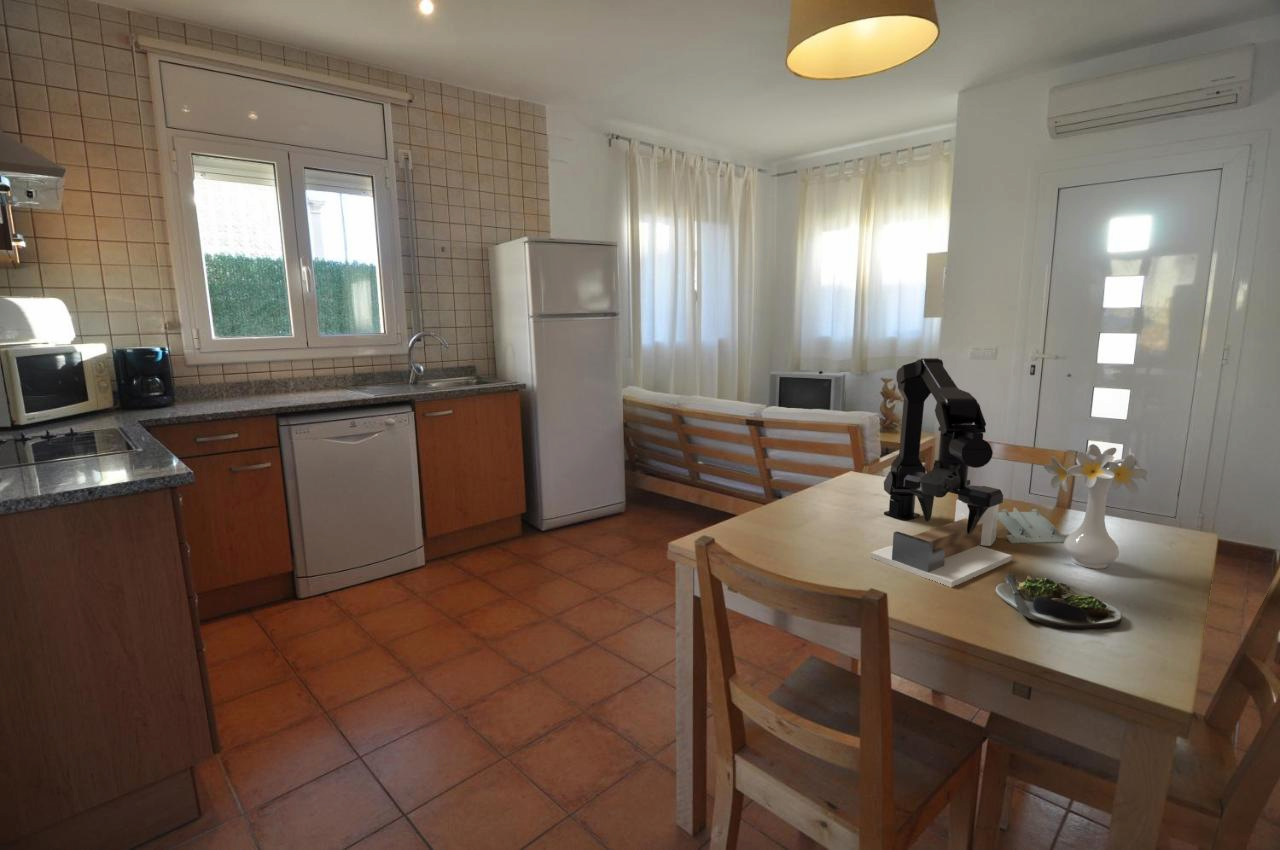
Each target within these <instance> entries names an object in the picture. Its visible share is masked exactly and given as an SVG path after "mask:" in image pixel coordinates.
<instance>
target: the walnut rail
mask: <svg viewBox="0 0 1280 850" xmlns="http://www.w3.org/2000/svg"><path fill="white" fill-rule="evenodd" d="M967 524H968V519H965V518H964V519H961V520H958V521H955V520H954V521H953V522H950V523H947V524H945V525H941V526H938V527H935V528H933V529H929V530H926V531H922V532H920V533H917V534H914V535H913V536H914V537H917V538H920V539H923V540H926V541H929V542H933V550H936V549H938V548H942V549H945V558H947V557H950V556H953V555H955V554H958V553H960V552H963V551H965V550H968V549H971V548H973V547H976V546H978V545H979V546H980V545H981V535H982V524H983V523H980V522H978V523H977V525H976V526H975V528H974V530H973V531H972V533H970V534H968V533H967Z"/></svg>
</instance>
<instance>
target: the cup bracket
mask: <svg viewBox="0 0 1280 850" xmlns="http://www.w3.org/2000/svg"><path fill="white" fill-rule="evenodd" d="M892 537H893V538H892V545H893V549H892V560H894V561H897V562H900V563H902V564H905V565H908V566H911V567H913V568H916V569H919V570H922V571H924V572H927V573H928V572H931V571H933V570H935V569H938V568H940V567H943V566H944V561H945V549H942V548H938V549H936V550H933V542H929V541H926V540H923V539H920V538H917V537H914V535H910V534H906V533H903V532H901V531H894V532H893V536H892Z"/></svg>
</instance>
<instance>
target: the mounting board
mask: <svg viewBox="0 0 1280 850" xmlns="http://www.w3.org/2000/svg"><path fill="white" fill-rule="evenodd" d="M892 549H893V544H892V545H888V546H885V547H883V548H880V549H876V550H874V551H871V552H870V557H869V558H870V559H872V558H873V559H872V560H875V559H876V561H877V562H881V563H883V564H886V565H889V566H892V567H895V568H897V569H900V570H903V571H905V572H907V573H910V574H913V575H916V576H918V577H922V578H924V579H926V578H927V580H929V579H930V581H932V580H933V581H932V582H935V581H936V582H935V583H937V582H938V584H940V583H941V584H940V585H943V584H944V585H943V586H945V585H946V587H948V586H949V588H954V587H956V586H958V585H960V584H963V583H965V582H968V581H970V580H972V579H974V578H976V577H978V576H981V575H982V574H985V573H987V572H989V571H991V570H993V569H996V568H998V567H1000V566H1004V564H1007V563H1009V562H1011V561H1012V555H1011V554H1008V553H1005V552H1002V551H999V550H995V549H991V548H988V547H986V546H980V545H978V546H976V547H973V548H971V549H968V550H965V551H963V552H960V553H958V554H955V555H953V556H950V557H947V558H945V561H944V566H943V567H940V568H938V569H935V570H933V571H931V572H928V573H927V572H924V571H922V570H919V569H916V568H913V567H911V566H908V565H905V564H902V563H900V562H897V561H894V560H892ZM973 577H974V578H973ZM955 585H956V586H955Z"/></svg>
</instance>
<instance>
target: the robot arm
mask: <svg viewBox="0 0 1280 850" xmlns="http://www.w3.org/2000/svg"><path fill="white" fill-rule="evenodd" d="M895 376H896V382H897V389H898V391H899V393H900V394H901V397H902V398H903V405H902V416H901V427H900V438H899V450H898V451H899V452H898V455H897V456H896V457H895V458H894V460H892V463H890V464H891V465H890V471H888V473H887V475H886V477H885V479H884V481H883V491H885V492H886V494H888V495H889V496H890V497H889V505H888V510H886V511H884V512H883V515H886V516H889V517H892V518H896V519H899V520H903V521H909V520H911V519H914V518H917V517H920V513H917V512H915V510H916V509H915V507H916V498H917V500H918V502H919V505H920V509H921V511H922V513H923V518H924V521H925V522H927V523H928V522H930V521H931V519H932V514H933V508H934V501H935V498H940V499H941V498H944V497H946V495H947V494H948V493H951V494H955V495H957V496H958V495H963V496H967V497H969V500H970V502H971V503H970V504H967V506H968V508H969V517H968V524H967V533H968V534H970V533H972V531H973V530H974V528H975V526H976V525H977V523H978V522H979V520H980V518H981V517H982V515H983V514H984V513H985V511H986V510H987V509H988V508H989V507H992V506H995V505H998V504H999V505H1000V504H1003V503H1004V502H1003V500H1004V494H1003V492H1002V490H1001V489H999V488H995V487H991V486H986V485H982V486H981V485H980V486H981V487H978V488H974V489H973V488H968V487H967V486H971V479H968V474H969V467H971V468H974V469H975V468H976V469H978V468H982V467H984V466H986V465H988V463H990V461H991V459H992V457H993V454H994V453H993V452H994V451H993V449H992V446H991V444H990V443H989V442H988V441H986V440H985V439H984V433H986V426H987V423H986V419H985V418H984V414H983V412H982V410H981V405H980V403H979V402H978V400H977V398H975V397H974V396H973V395H972V394H971V393H970V392H967V391H965V390H962V389H960V388H959V387H958V385H957V384H956V383H955V382H954V380H953V379H952V377H951V375H950V374H949V373H948V371H947V370H946V369H945V367H944V362H943V360H942V359H939V358H937V357H935V358H932V357H931V358H926V357H924V358H923V357H922V358H920V359H917V360H915V361H913V362H910V363H907V364H903V365H901V367H900V368H897V371H896V375H895ZM931 394H932V397H933V398H934V399H935V402H936V405H935V409H934V414H935V417H936V420H937V422H938V424H939V427H938V431H939V432H940V433H939V447H938V459H936V460H934V463H933V468H932V470H930V471H928V472H927V468H926V467H925V465H924V464H923V463H922V461H921V459H920V449H921V440H922V431H923V419H924V409H925V401H926V400H928V399H927V398H928V397H929V396H930V395H931ZM959 489H960V490H959Z"/></svg>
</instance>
